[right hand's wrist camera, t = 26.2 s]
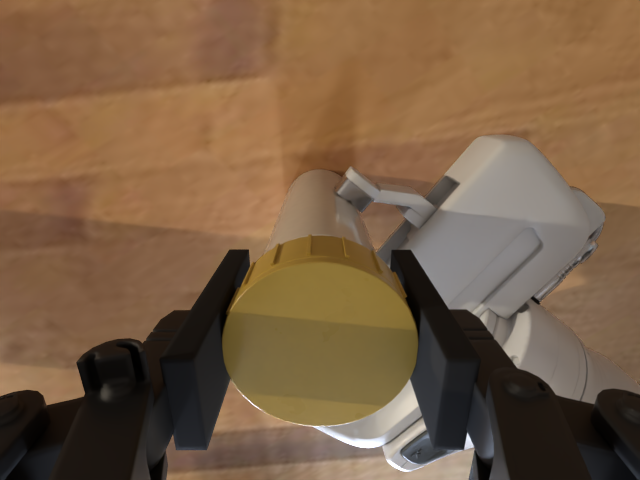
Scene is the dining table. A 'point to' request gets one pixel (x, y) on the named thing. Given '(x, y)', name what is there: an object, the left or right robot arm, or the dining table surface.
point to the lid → (320, 333)
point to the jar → (318, 212)
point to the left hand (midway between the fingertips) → (306, 224)
